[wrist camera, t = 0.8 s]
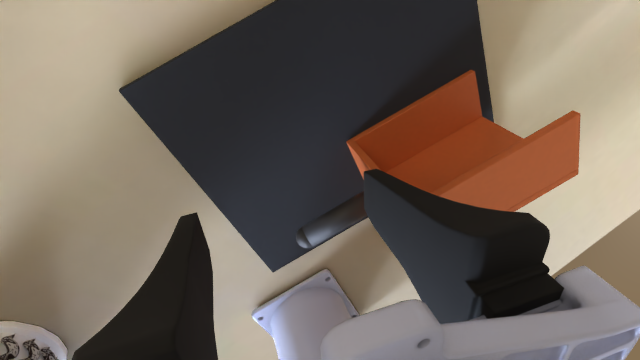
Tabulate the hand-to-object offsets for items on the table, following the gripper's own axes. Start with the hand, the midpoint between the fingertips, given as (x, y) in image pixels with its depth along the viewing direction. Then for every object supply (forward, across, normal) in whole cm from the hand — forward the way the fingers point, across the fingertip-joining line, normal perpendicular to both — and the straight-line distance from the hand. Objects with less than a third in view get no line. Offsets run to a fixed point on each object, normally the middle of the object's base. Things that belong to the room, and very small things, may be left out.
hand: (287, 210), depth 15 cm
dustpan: (+10, -9, +4) cm, 14 cm away
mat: (+10, -7, +1) cm, 12 cm away
